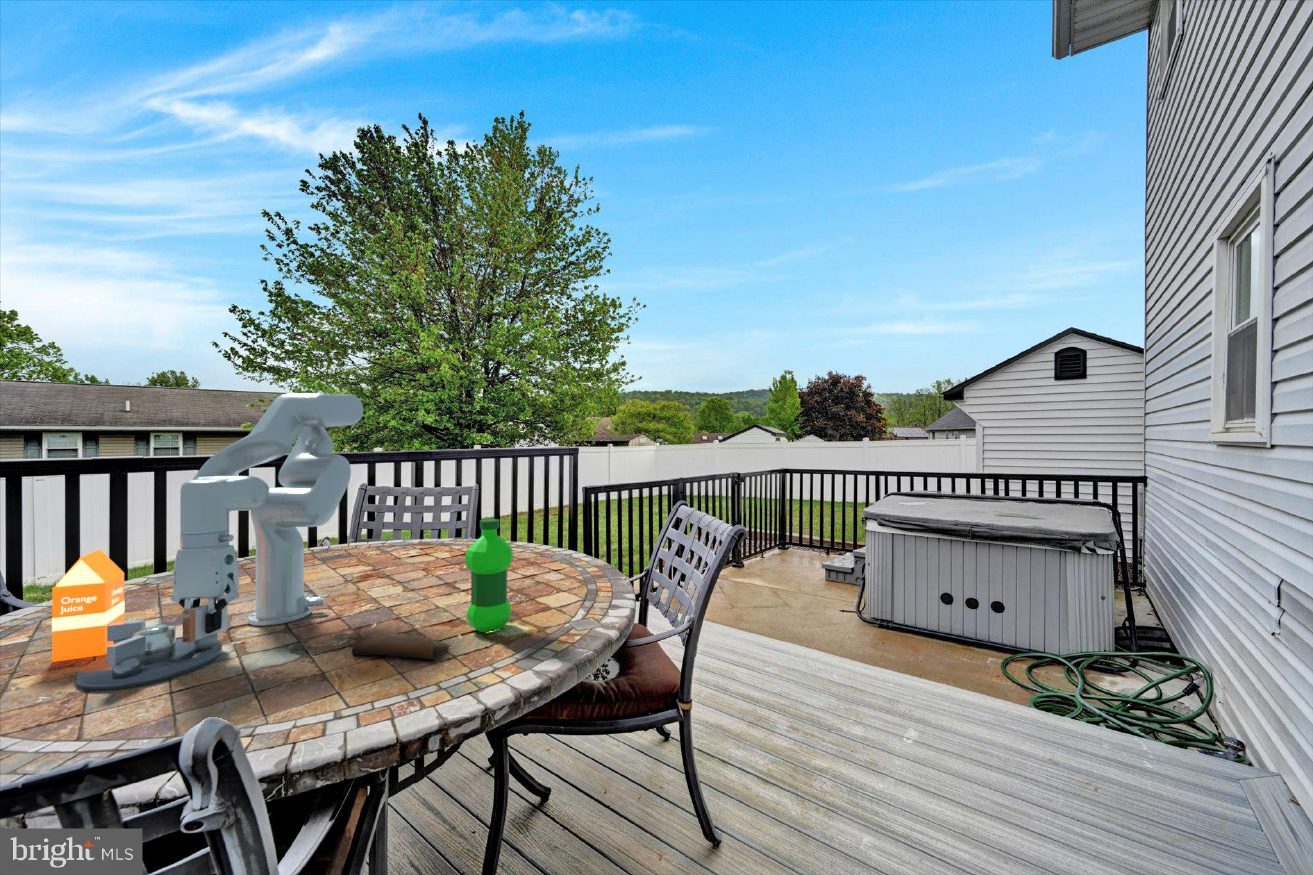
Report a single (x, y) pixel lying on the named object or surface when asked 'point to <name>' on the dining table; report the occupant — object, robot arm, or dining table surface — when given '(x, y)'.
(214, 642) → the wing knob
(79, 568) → the orange juice
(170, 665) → the tribrach base
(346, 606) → the dining table surface
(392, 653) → the sunglasses case
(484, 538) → the plastic bottle
